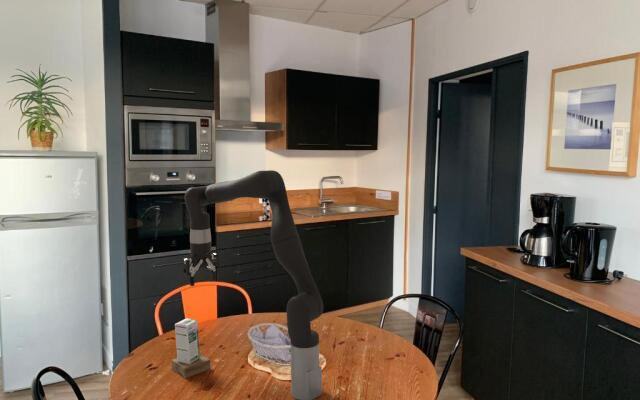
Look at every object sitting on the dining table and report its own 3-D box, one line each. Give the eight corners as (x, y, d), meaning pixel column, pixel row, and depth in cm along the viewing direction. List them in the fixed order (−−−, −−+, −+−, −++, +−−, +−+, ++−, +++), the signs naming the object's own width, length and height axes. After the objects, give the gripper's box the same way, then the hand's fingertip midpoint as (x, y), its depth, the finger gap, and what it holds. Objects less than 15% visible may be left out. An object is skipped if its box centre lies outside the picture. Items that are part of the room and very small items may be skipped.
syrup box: (189, 364, 168) (187, 325, 166) (176, 361, 171) (174, 323, 169) (200, 358, 173) (198, 319, 171) (187, 355, 176) (185, 317, 174)
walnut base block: (210, 370, 173) (210, 359, 172) (185, 379, 166) (184, 368, 165) (196, 361, 180) (196, 351, 179) (171, 370, 173) (171, 359, 172)
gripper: (189, 244, 167) (190, 289, 169) (222, 239, 178) (223, 281, 180) (177, 242, 172) (179, 285, 174) (211, 236, 183) (212, 277, 185)
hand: (202, 283), depth 177 cm, fingers open, 8 cm apart
